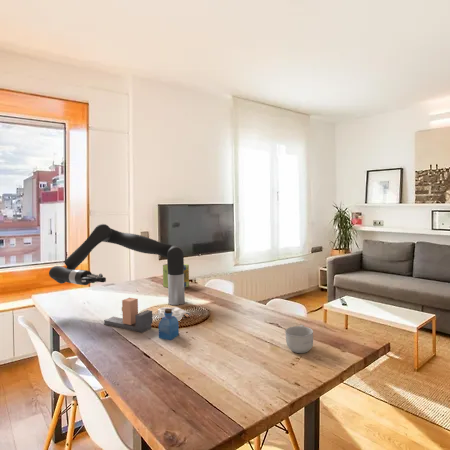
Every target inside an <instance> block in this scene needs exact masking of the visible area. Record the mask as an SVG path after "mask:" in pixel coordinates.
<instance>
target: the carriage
mask: <svg viewBox="0 0 450 450" xmlns="http://www.w3.org/2000/svg"><path fill="white" fill-rule="evenodd" d="M121 303H122V304H121V305H122V307H121V313H122V318H123V323H124V324H129V325H132V324H134V323H136V318H135V315H137V314H139V300H138V298H135V297H128V298H125V299H122V300H121Z"/></svg>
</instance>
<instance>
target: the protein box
mask: <svg viewBox="0 0 450 450" xmlns="http://www.w3.org/2000/svg"><path fill="white" fill-rule="evenodd" d="M189 266H190V264H188V263H187V264H186V263H184V289H186V288H189V287H190V268H189ZM162 286H163V287H164V288H168V265H167V263H165V264H163V265H162Z"/></svg>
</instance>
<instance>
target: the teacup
mask: <svg viewBox="0 0 450 450" xmlns="http://www.w3.org/2000/svg"><path fill="white" fill-rule="evenodd" d="M284 331H285V332H284V333H285V343H286V347H288V349H289V350H291V351H292V352H293V353H296V354H297V353H298V354H306V353H307V352H309V351H310V350H311V349H312V348H313V346H314V330H313V329H312V328H310V327H308V326H305V325H304V324H300V325H295V326H288V328H286V329H285V330H284Z"/></svg>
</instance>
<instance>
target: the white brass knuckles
mask: <svg viewBox="0 0 450 450" xmlns="http://www.w3.org/2000/svg"><path fill="white" fill-rule="evenodd" d="M165 309H172V316H175V317H176V319H177V320H178V321H180V320H181V319H182V317H184V314H185V313H186V314H188V315H190V316H191V312H189V311H186V310H184V309H182V308H180V307H178V306H173V307H159V308H158V309H157V316H156V317H159V318H160V317H161V318H163V317H165V315H164V312H165ZM158 314H159V315H158ZM180 322H181V321H180Z"/></svg>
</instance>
